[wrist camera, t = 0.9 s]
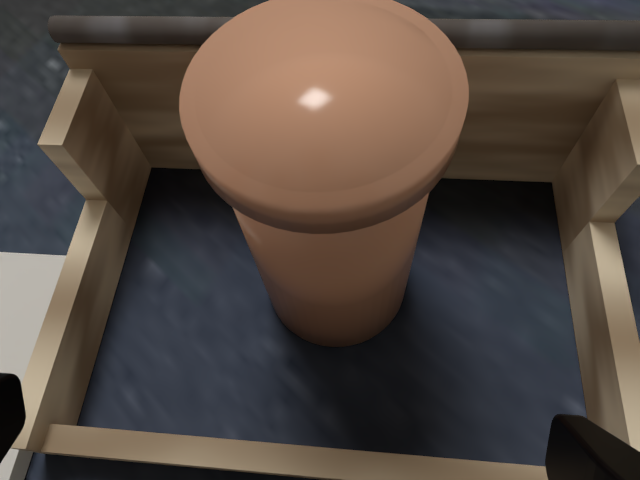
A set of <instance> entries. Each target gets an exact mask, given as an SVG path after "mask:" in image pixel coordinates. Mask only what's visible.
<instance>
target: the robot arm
mask: <svg viewBox="0 0 640 480" xmlns="http://www.w3.org/2000/svg"><path fill="white" fill-rule="evenodd" d="M25 420H26V412H25V405H24V399H23V393H22V387H21V381H20V379H19V377H18V376H17V375H15V374H11V373H0V463H1V462H2V460H3V459H4V457H5V456H6V454H7V453H8V451H9V450H10V448H11V446H12V445H13V443H14V442H15V440H16V439H17V437H18V436H19V434H20V433H21V431H22V429H23V427H24V424H25ZM545 465H546V473H547V477H548V480H640V452H639V451H638V450H636V449H635V448H633V447H631V446H630V445H628V444H627V443H625V442H623V441H622V440H620V439H619V438H617V437H615V436H614V435H612V434H611V433H609V432H607V431H606V430H604V429H603V428H601V427H599V426H598V425H596V424H595V423H593V422H592V421H590V420H588V419H587V418H585V417H583V416H579V415H566V414H557V415H556V416H554V418H553V420H552V423H551V428H550V434H549V440H548V446H547V452H546V459H545Z"/></svg>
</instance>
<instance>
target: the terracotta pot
mask: <svg viewBox="0 0 640 480" xmlns="http://www.w3.org/2000/svg"><path fill="white" fill-rule="evenodd" d="M468 102H469V85H468V80H467V74H466V70H465V67H464V65H463V62H462V59H461V57H460V55H459V54H458V52H457V50H456V48H455V46H454V45H453V44H452V43H451V41H450V40H449V39H448V37H447V36H446V35H445V34H444V33H443V32H442V31H441V30H440V29H439V28H438V27H437V26H436V25H435V24H434V23H432V22H431V21H430V20H428V19H427V18H426V17H424V16H423V15H421V14H419V13H418V12H416V11H414V10H413V9H411V8H409V7H407V6H404V5H402V4H400V3H398V2H396V1H393V0H270V1H266V2H264V3H262V4H259V5H257V6H254V7H252V8H250V9H248V10H246V11H244V12H243V13H241V14H239V15H237V16H236V17H234V18H233V19H231V20H230V21H228V22H227V23H225V24H224V25H223V26H221V27H220V28H219V29H218V30H217V31H215V32H214V33H213V34H212V35H211V36H210V37H209V38H208V39H207V40H206V41H205V42H204V44H203V45H202V46H201V47H200V49H199V50H198V51H197V53H196V54H195V55H194V57H193V59H192V61H191V63H190V64H189V66H188V68H187V70H186V73H185V76H184V79H183V81H182V86H181V91H180V96H179V112H180V119H181V125H182V128H183V131H184V133H185V136H186V139H187V141H188V143H189V146H190V148H191V150H192V152H193V154H194V157H195V159H196V161H197V163H198V165H199V167H200V169H201V171H202V173H203V175H204V177H205V178H206V180H207V182H208V183H209V184H210V186H211V187H212V188H213V189H214V191H215V192H216V193H217V194H218V195H219V196H220V197H221V198H222V199H223V200H224V201H225V202H226V203H227V204H229V205H230V206H232V207H233V210H234V212H235V214H236V217H237V219H238V222H239V224H240V227H241V229H242V232H243V234H244V236H245V239H246V241H247V244H248V246H249V249H250V251H251V254H252V256H253V258H254V261H255V263H256V266H257V268H258V271H259V273H260V276H261V278H262V280H263V283H264V285H265V288H266V290H267V293H268V295H269V298H270V300H271V303H272V305H273V307H274V310H275V312H276V313H277V315H278V317H279V318H280V320H281V321H282V322H283V324H284V325H285V326H286V327H287V328H288V329H289V330H290V331H292V332H293V333H294V334H296V335H297V336H299V337H301V338H302V339H304V340H306V341H309V342H311V343H314V344H317V345H321V346H328V347H345V346H352V345H355V344H359V343H362V342H364V341H367V340H369V339H371V338H372V337H374V336H376V335H377V334H379V333H380V332H381V331H382V330H384V329H385V328H386V327H387V326H388V325H389V324H390V323H391V321H392V320H393V319H394V317H395V316H396V314H397V312H398V310H399V309H400V306H401V303H402V301H403V297H404V293H405V289H406V285H407V281H408V277H409V273H410V268H411V264H412V260H413V256H414V252H415V248H416V244H417V240H418V236H419V232H420V228H421V224H422V220H423V216H424V212H425V208H426V203H427V199H428V195H429V192H430V191H431V190H432V189H433V188H434V187H435V186H436V184H437V183H438V182H439V180H440V179H441V178H442V177H443V175H444V174H445V172H446V170H447V168H448V167H449V165H450V163H451V161H452V159H453V156H454V153H455V151H456V148H457V144H458V141H459V138H460V134H461V131H462V127H463V124H464V120H465V117H466V112H467V107H468Z"/></svg>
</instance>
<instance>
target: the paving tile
mask: <svg viewBox="0 0 640 480" xmlns="http://www.w3.org/2000/svg"><path fill="white" fill-rule="evenodd" d="M65 259H66V256H61V255H42V254H24V253H6V252H0V373H11V374H15V375H17V376H18V377H19V379H20V381H21V384H22V381H23V378H24V375H25V372H26V370H27V367H28V364H29V361H30V358H31V355H32V353H33V350H34V347H35V344H36V341H37V338H38V335H39V333H40V330H41V327H42V324H43V321H44V318H45V316H46V313H47V310H48V307H49V304H50V301H51V298H52V296H53V293H54V290H55V287H56V284H57V281H58V279H59V276H60V273H61V270H62V267H63V264H64V261H65ZM32 454H33V452H30V451H24V450H18V449H11V448H10V450H9V451H8V453H7V454H6V456H5V457H4V459H3V460H2V462H1V463H0V480H24V479H25V476H26V473H27V470H28V467H29V464H30V460H31V457H32Z"/></svg>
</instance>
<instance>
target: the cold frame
mask: <svg viewBox="0 0 640 480" xmlns="http://www.w3.org/2000/svg"><path fill="white" fill-rule="evenodd" d="M233 18H234V17H151V16H51V17H50V18H49V21H48V30H49V33H50V36H51V38H52V39H53V40H54V41H55V42H57V43H60V46H59V48H58V51H59V53H60V54H61V56H62V57H63V59H64V61H65V62H66V64H67V65H68V67H69V68H70V70H69V72H68V74H67V77H66V79H65V81H64V84H63V86H62V88H61V91H60V93H59V95H58V98H57V100H56V102H55V105H54V107H53V109H52V112H51V114H50V116H49V119H48V121H47V123H46V126H45V128H44V130H43V133H42V135H41V137H40V140H39V142H38V146H39V147H40V148H41V149H42V150H43V151H44V152H45V154H46V155H47V156H48V157H49V158H50V159H51V160H52V161H53V163H54V164H55V165H56V166H57V167H58V168H59V169H60V171H61V172H62V173H63V174H64V175H65V176H66V177H67V178H68V180H69V181H70V182H71V183H72V184H73V185H74V186H75V188H76V189H77V190H78V191H79V192H80V193H81V194H82V195H83V197H84V198H85V199H86V202H85V205H84V207H83V210H82V213H81V216H80V219H79V222H78V224H77V227H76V230H75V233H74V236H73V239H72V242H71V244H70V247H69V250H68V253H67V256H66V259H65V261H64V264H63V267H62V270H61V273H60V276H59V279H58V281H57V284H56V287H55V290H54V293H53V296H52V298H51V301H50V304H49V307H48V310H47V313H46V316H45V318H44V321H43V324H42V327H41V330H40V333H39V335H38V338H37V341H36V344H35V347H34V350H33V353H32V355H31V358H30V361H29V364H28V367H27V370H26V372H25V375H24V378H23V381H22V384H21V387H22V393H23V399H24V405H25V412H26V420H25V424H24V427H23V429H22V431H21V433H20V434H19V436H18V437H17V439H16V440H15V442H14V443H13V445H12V446H11V449H18V450H24V451H30V452H37V453H43V454H53V455H64V456H75V457H85V458H96V459H107V460H118V461H128V462H139V463H150V464H161V465H171V466H182V467H193V468H204V469H215V470H225V471H236V472H247V473H258V474H268V475H279V476H290V477H301V478H311V479H322V480H548V477H547V473H546V467H543V466H531V465H520V464H508V463H497V462H485V461H474V460H462V459H451V458H440V457H428V456H417V455H405V454H394V453H382V452H371V451H359V450H348V449H336V448H325V447H313V446H302V445H290V444H279V443H267V442H256V441H244V440H233V439H221V438H210V437H198V436H187V435H175V434H164V433H152V432H141V431H129V430H118V429H106V428H95V427H83V426H76V425H77V422H78V418H79V415H80V412H81V408H82V405H83V401H84V398H85V394H86V391H87V388H88V384H89V381H90V377H91V374H92V370H93V367H94V364H95V360H96V357H97V353H98V350H99V346H100V343H101V339H102V336H103V333H104V329H105V326H106V322H107V319H108V315H109V312H110V309H111V305H112V302H113V298H114V295H115V291H116V288H117V285H118V281H119V278H120V274H121V271H122V267H123V264H124V261H125V257H126V254H127V250H128V247H129V243H130V240H131V237H132V233H133V230H134V226H135V223H136V219H137V216H138V212H139V209H140V206H141V202H142V199H143V195H144V192H145V188H146V185H147V182H148V178H149V175H150V171H151V168H152V167H153V168H180V169H200V167H199V165H198V163H197V161H196V159H195V157H194V154H193V152H192V150H191V148H190V146H189V143H188V141H187V139H186V136H185V133H184V131H183V128H182V125H181V119H180V112H179V96H180V91H181V86H182V81H183V79H184V76H185V73H186V70H187V68H188V66H189V64H190V63H191V61H192V59H193V57H194V55H195V54H196V53H197V51H198V50H199V49H200V47H201V46H202V45H203V44H204V42H205V41H206V40H207V39H208V38H209V37H210V36H211V35H212V34H213V33H214V32H215V31H217V30H218V29H219V28H220V27H221V26H223V25H224V24H225V23H227V22H228V21H230V20H231V19H233ZM428 20H430V21H431V22H432V23H434V24H435V25H436V26H437V27H438V28H439V29H440V30H441V31H442V32H443V33H444V34H445V35H446V36H447V37H448V39H449V40H450V41H451V43H452V44H453V45H454V46H455V48H456V50H457V52H458V54H459V55H460V57H461V59H462V62H463V65H464V67H465V70H466V74H467V80H468V85H469V102H468V107H467V112H466V117H465V120H464V124H463V127H462V131H461V134H460V138H459V141H458V144H457V148H456V151H455V153H454V156H453V159H452V161H451V163H450V165H449V167H448V168H447V170H446V172H445V174H444V175H443V177H442V178H450V179H477V180H504V181H531V182H552V187H553V193H554V200H555V206H556V213H557V220H558V226H559V233H560V240H561V246H562V253H563V259H564V266H565V273H566V279H567V286H568V293H569V299H570V306H571V312H572V319H573V326H574V332H575V339H576V346H577V352H578V359H579V365H580V372H581V379H582V385H583V392H584V399H585V405H586V412H587V418H588V420H590V421H592V422H593V423H595V424H596V425H598V426H599V427H601V428H603V429H604V430H606V431H607V432H609V433H611V434H612V435H614V436H615V437H617V438H619V439H620V440H622V441H623V442H625V443H627V444H628V445H630V446H631V447H633V448H635V449H636V450H638V451H639V452H640V342H639V338H638V333H637V328H636V323H635V319H634V314H633V309H632V304H631V300H630V295H629V290H628V285H627V281H626V276H625V271H624V266H623V262H622V257H621V252H620V247H619V242H618V238H617V233H616V228H615V222H616V220H617V219H618V218H619V217H620V216H621V215H622V214H623V213H624V212H625V211H626V210H627V209H628V208H629V207H630V205H631V204H632V203H633V202H634V201H635V200H636V199H637V198H638V197H639V196H640V21H615V20H499V19H428Z"/></svg>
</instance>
